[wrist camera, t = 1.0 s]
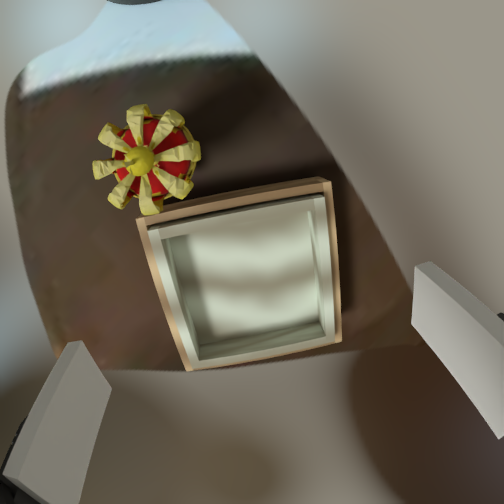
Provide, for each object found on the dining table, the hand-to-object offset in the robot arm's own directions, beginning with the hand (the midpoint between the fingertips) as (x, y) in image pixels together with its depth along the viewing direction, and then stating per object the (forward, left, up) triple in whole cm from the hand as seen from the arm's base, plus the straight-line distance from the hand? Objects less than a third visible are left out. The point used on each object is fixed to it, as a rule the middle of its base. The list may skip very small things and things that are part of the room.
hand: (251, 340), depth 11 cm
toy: (-7, -5, -22) cm, 24 cm away
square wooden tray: (+7, 0, -22) cm, 23 cm away
